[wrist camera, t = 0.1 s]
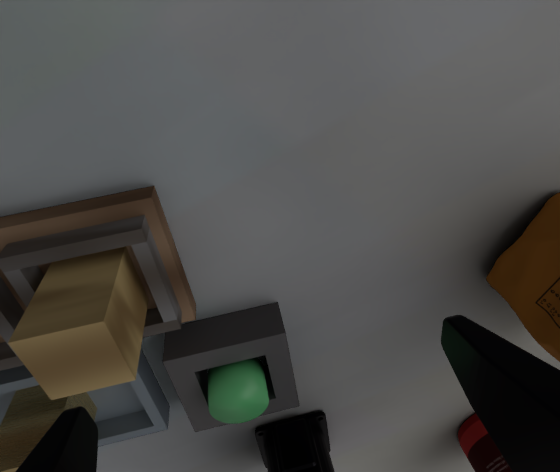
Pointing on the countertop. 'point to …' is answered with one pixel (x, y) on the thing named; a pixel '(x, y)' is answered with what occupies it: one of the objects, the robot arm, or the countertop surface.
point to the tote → (108, 403)
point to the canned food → (480, 447)
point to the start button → (237, 391)
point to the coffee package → (534, 277)
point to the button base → (229, 358)
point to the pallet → (88, 289)
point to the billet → (32, 422)
